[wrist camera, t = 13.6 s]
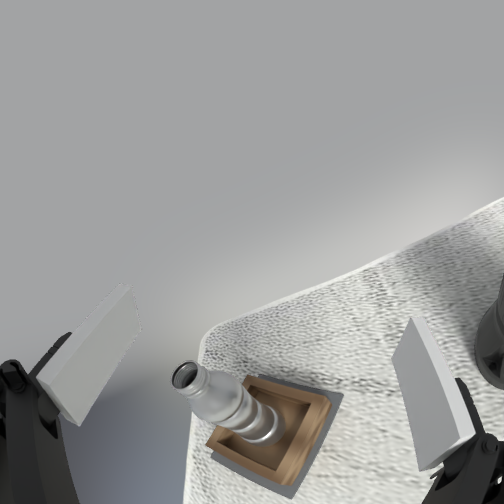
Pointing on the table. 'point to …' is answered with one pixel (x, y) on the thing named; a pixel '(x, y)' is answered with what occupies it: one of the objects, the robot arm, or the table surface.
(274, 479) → the wooden tray
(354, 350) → the table surface
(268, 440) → the plastic bottle
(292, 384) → the mat
